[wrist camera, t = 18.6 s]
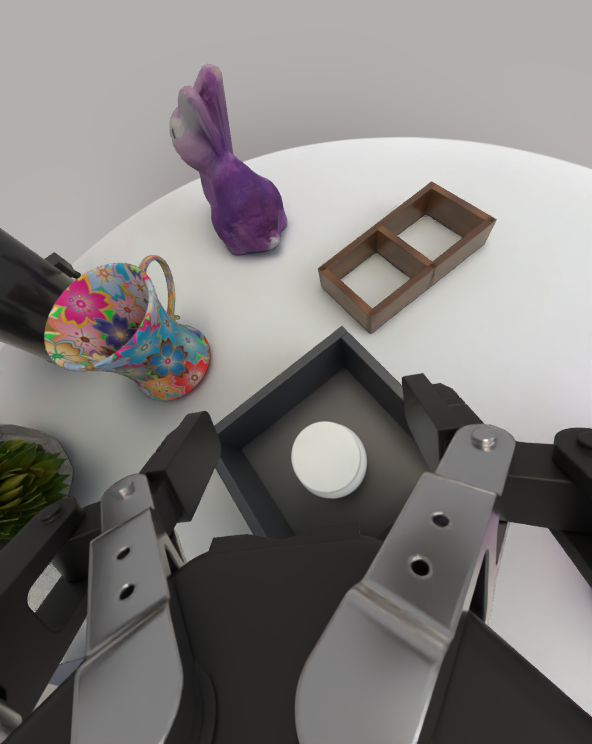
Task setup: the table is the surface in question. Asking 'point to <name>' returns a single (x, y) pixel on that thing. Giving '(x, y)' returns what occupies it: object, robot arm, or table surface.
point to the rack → (406, 252)
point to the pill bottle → (329, 459)
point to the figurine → (225, 168)
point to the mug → (126, 331)
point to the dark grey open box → (308, 406)
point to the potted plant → (29, 477)
